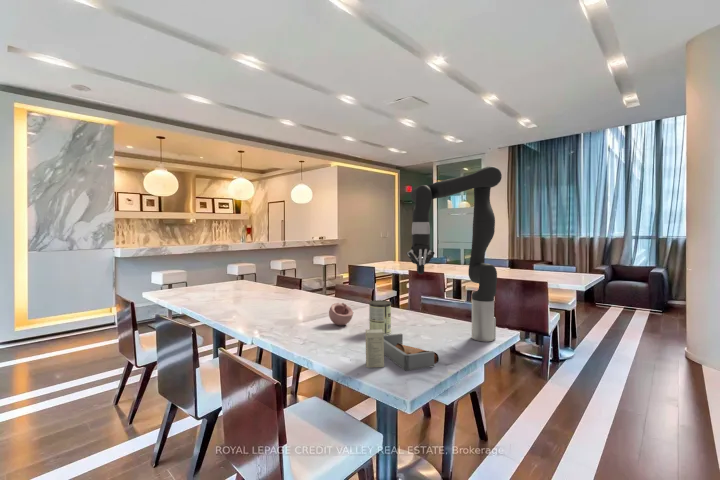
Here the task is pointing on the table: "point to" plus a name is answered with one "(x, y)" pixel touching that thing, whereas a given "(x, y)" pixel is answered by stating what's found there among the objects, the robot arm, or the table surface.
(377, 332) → the skincare box
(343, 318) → the mortar and pestle
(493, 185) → the robot arm
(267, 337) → the table surface
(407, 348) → the sunglasses case
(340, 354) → the table surface
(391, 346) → the gray u-shaped bracket
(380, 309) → the coffee can
